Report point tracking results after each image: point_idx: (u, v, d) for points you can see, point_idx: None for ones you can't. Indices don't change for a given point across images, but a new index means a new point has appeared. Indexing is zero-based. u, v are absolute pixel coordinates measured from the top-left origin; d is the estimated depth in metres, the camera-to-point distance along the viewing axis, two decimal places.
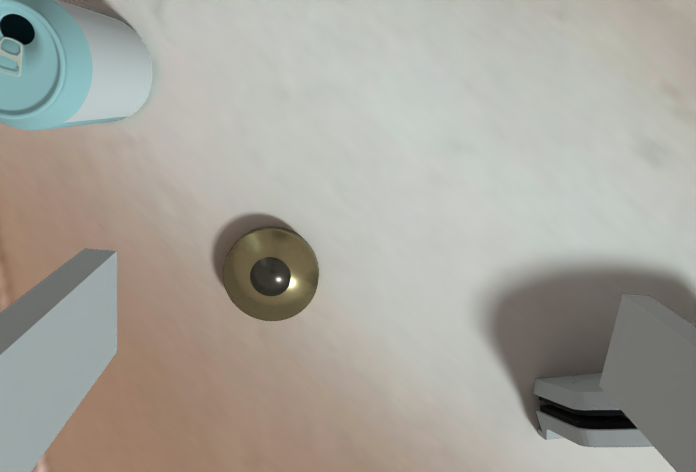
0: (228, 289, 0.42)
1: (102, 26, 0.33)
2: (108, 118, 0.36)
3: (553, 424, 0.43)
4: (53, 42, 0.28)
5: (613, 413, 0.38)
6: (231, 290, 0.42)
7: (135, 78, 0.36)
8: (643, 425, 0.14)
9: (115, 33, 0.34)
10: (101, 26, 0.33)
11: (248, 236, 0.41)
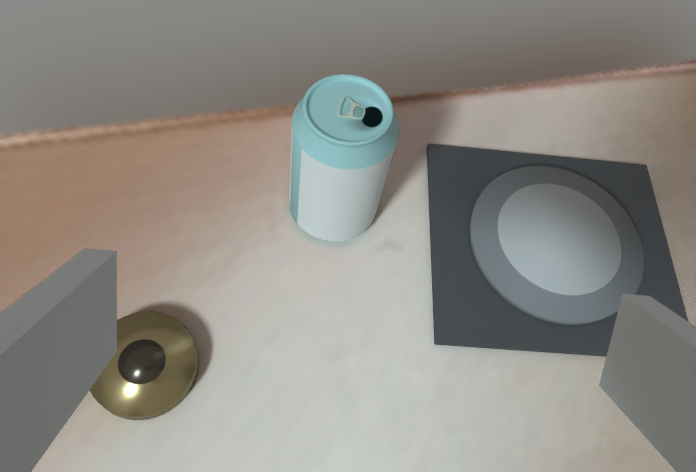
0: (126, 318, 0.39)
1: (377, 187, 0.40)
2: (298, 199, 0.42)
3: None
4: (368, 138, 0.35)
5: None
6: (125, 321, 0.39)
7: (335, 219, 0.41)
8: (643, 425, 0.14)
9: (371, 201, 0.41)
10: (377, 186, 0.40)
11: (188, 333, 0.39)
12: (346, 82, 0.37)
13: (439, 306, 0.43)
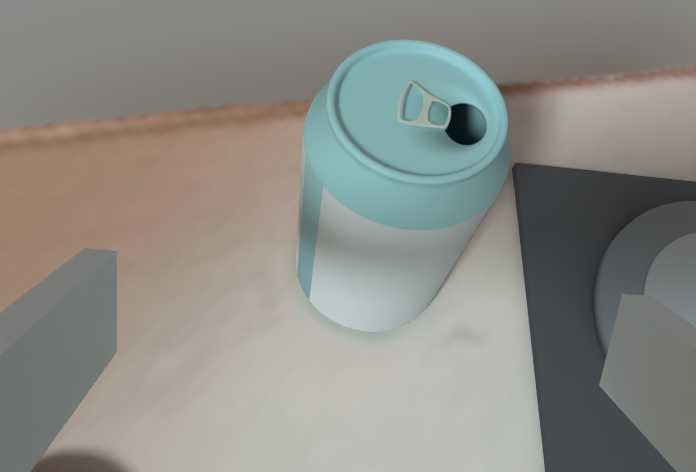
0: None
1: (459, 253, 0.21)
2: (312, 267, 0.23)
3: None
4: (461, 169, 0.17)
5: None
6: None
7: (379, 305, 0.23)
8: (643, 425, 0.14)
9: (444, 274, 0.23)
10: (460, 252, 0.21)
11: None
12: (410, 55, 0.19)
13: (556, 453, 0.24)
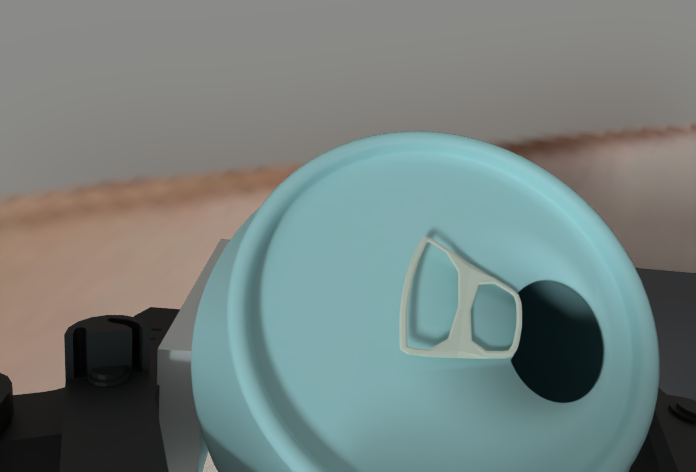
0: None
1: None
2: None
3: None
4: None
5: None
6: None
7: None
8: None
9: None
10: None
11: None
12: (425, 166, 0.09)
13: None
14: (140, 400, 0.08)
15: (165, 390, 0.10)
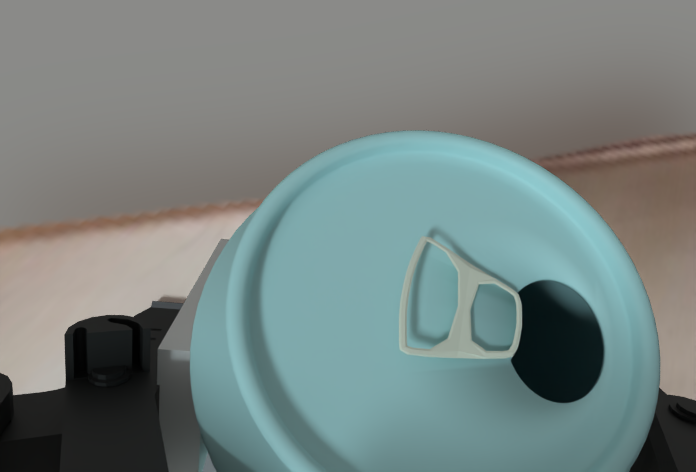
0: None
1: None
2: None
3: None
4: None
5: None
6: None
7: None
8: None
9: None
10: None
11: None
12: (424, 165, 0.09)
13: None
14: (141, 400, 0.08)
15: (165, 390, 0.10)
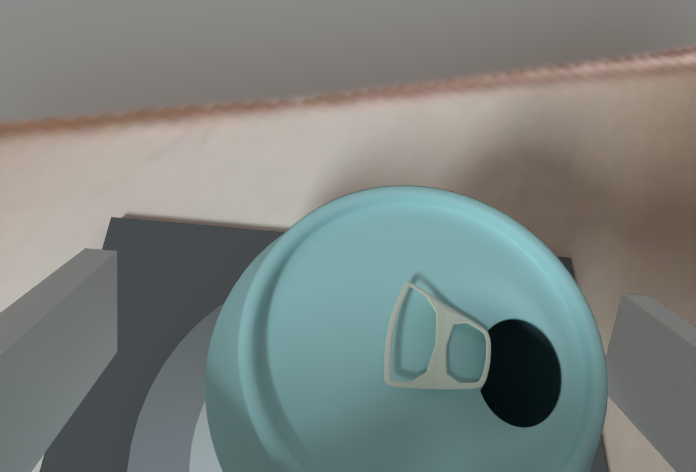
0: None
1: None
2: None
3: None
4: None
5: None
6: None
7: None
8: (643, 424, 0.14)
9: None
10: None
11: None
12: (409, 216, 0.10)
13: None
14: None
15: None
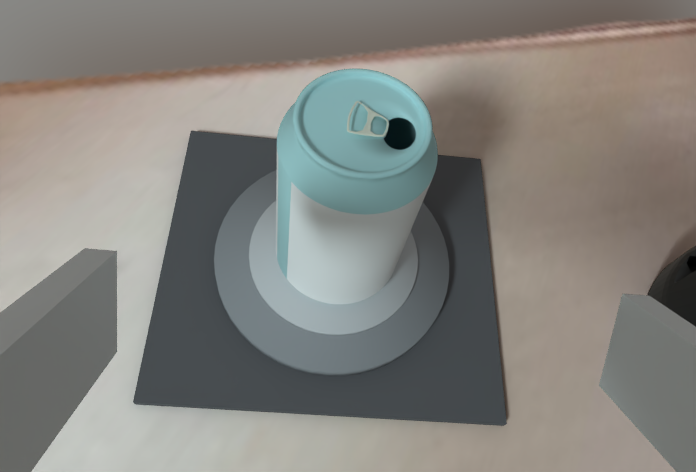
0: None
1: (403, 236, 0.27)
2: (287, 249, 0.29)
3: None
4: (394, 167, 0.23)
5: None
6: None
7: (341, 279, 0.29)
8: (643, 425, 0.14)
9: (393, 253, 0.28)
10: (403, 234, 0.27)
11: None
12: (359, 81, 0.25)
13: (151, 350, 0.31)
14: None
15: None
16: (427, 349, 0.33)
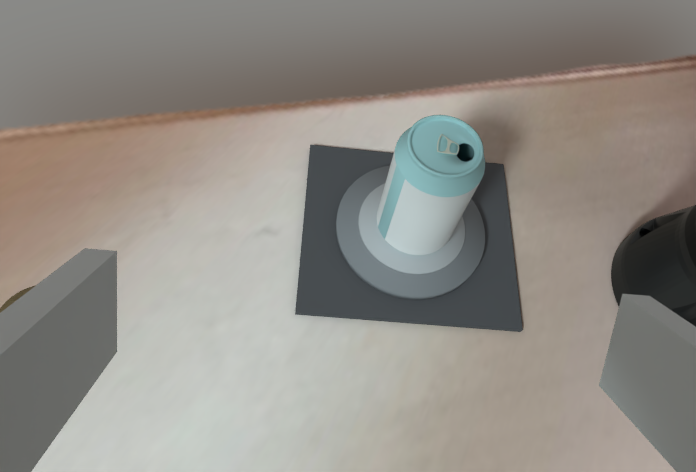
0: (29, 289, 0.46)
1: (462, 211, 0.46)
2: (390, 219, 0.48)
3: None
4: (463, 171, 0.42)
5: None
6: None
7: (423, 237, 0.48)
8: (643, 425, 0.14)
9: (455, 222, 0.47)
10: (463, 210, 0.46)
11: None
12: (441, 122, 0.44)
13: (302, 282, 0.50)
14: None
15: None
16: (472, 285, 0.52)
